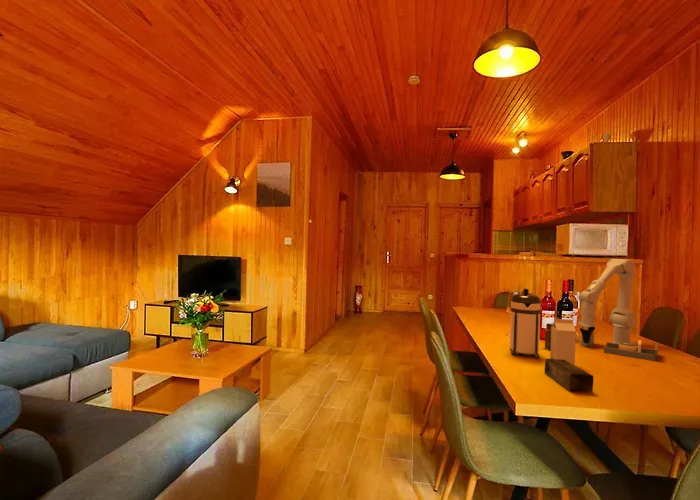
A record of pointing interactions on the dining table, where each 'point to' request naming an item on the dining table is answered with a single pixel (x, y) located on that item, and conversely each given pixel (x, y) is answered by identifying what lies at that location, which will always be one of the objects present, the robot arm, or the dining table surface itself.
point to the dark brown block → (569, 375)
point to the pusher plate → (639, 346)
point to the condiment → (548, 336)
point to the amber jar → (627, 346)
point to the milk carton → (563, 340)
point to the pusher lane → (645, 352)
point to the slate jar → (591, 343)
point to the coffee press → (525, 324)
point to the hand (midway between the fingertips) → (587, 341)
